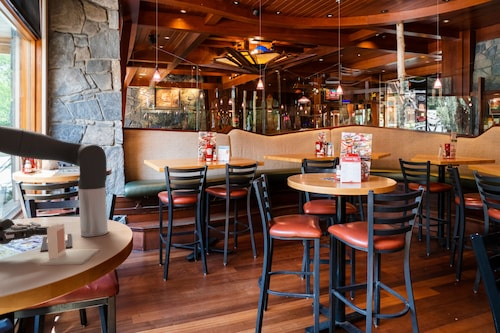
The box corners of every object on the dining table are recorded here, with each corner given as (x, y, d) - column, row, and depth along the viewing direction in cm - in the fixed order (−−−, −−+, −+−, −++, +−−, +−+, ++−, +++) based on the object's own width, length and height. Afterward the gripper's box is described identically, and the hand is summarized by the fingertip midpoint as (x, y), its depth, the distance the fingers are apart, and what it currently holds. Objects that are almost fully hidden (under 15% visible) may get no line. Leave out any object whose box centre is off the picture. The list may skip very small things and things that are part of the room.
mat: (61, 251, 115) (61, 249, 115) (99, 250, 115) (99, 249, 115) (39, 264, 103) (39, 262, 103) (82, 264, 103) (81, 262, 103)
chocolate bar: (40, 250, 115) (43, 237, 131) (40, 253, 115) (43, 239, 131) (72, 246, 119) (71, 233, 135) (72, 249, 119) (71, 236, 135)
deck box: (57, 253, 111) (55, 224, 111) (66, 252, 111) (64, 224, 111) (48, 258, 106) (46, 228, 106) (57, 258, 106) (55, 228, 106)
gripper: (-26, 224, 101) (36, 223, 101) (6, 214, 115) (61, 213, 115) (-24, 250, 102) (38, 249, 102) (7, 237, 115) (62, 236, 115)
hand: (50, 230), depth 108 cm, fingers closed
